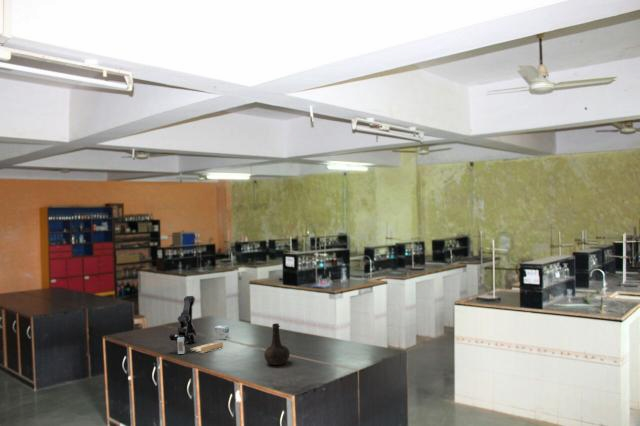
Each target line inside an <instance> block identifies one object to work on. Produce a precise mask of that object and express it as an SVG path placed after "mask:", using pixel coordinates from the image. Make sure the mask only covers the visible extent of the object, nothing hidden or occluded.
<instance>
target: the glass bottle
mask: <svg viewBox="0 0 640 426" xmlns="http://www.w3.org/2000/svg"><path fill="white" fill-rule="evenodd" d="M280 327H281V326H280V324H279V323H272V326H271V328H272V338H271V343H270V346H269V347H267V348H266V350H265V351H264V355H263V356H264V359H265V361H266V363H268V364H269V365H271V366H281V365H283V364H285V363H287V361H288V360H289V359H290V350H289V348H288V347H287V346H285V345H282V343H281V337H280Z"/></svg>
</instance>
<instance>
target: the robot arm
mask: <svg viewBox="0 0 640 426" xmlns="http://www.w3.org/2000/svg"><path fill="white" fill-rule="evenodd" d="M195 302H196V297H195V296H194V295H186V296H185V297H184V298H183V310H182V312H181V313H180V315H179V316H178V317H177V322H178V324H179V327H177V334H176V333H170V334H169V339H170V341H174V342H176V347H177V348H178V343H177V338H178V337H184V346H185V347H186V345H187V344H186V343H187V342H188V343H192V342H195V340H196V339H195V337H196V336H197V332H196V330H195V329H196V328H195V325H193V306H194V305H195ZM192 344H193V343H192Z"/></svg>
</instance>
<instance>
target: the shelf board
mask: <svg viewBox="0 0 640 426" xmlns="http://www.w3.org/2000/svg"><path fill="white" fill-rule="evenodd" d="M212 344H214V343H212V342H210V343H206V344H203V345H198V346H195V347H194V346H193V347H190V348H189V351H190V350H192V351H196V352H199V353H204V352H207V351H211V350H215V349H219V348H222V347H223V348H224V345H223V346H220V347H217V348H213V349H209V350H206V351H202V352H201V347H205V346H208V345H212ZM223 348H222V349H223ZM219 350H220V349H219ZM192 351H191V352H192ZM215 351H216V350H215ZM196 352H195V353H196ZM211 352H212V351H211ZM199 353H198V354H199ZM204 354H205V353H204Z"/></svg>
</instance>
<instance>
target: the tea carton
mask: <svg viewBox="0 0 640 426" xmlns="http://www.w3.org/2000/svg"><path fill="white" fill-rule="evenodd" d="M184 340H185V338H184V337H178V338H177V342H176V344H177V343H178V347H177V355H178V354H184V353H185V354H186V345H185V346H184ZM185 354H184V355H185Z"/></svg>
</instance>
